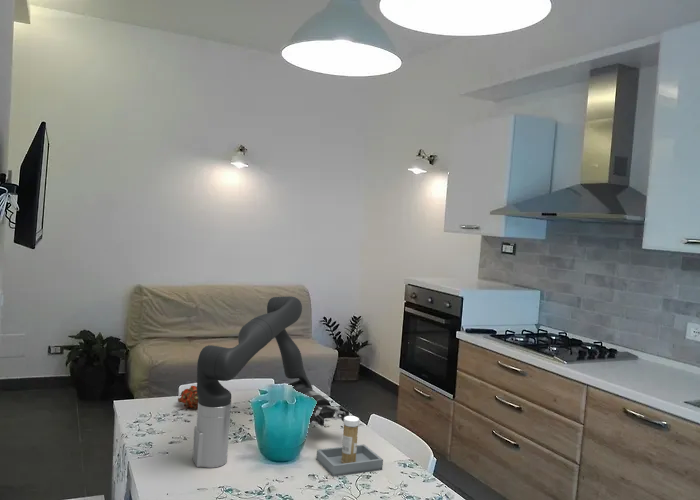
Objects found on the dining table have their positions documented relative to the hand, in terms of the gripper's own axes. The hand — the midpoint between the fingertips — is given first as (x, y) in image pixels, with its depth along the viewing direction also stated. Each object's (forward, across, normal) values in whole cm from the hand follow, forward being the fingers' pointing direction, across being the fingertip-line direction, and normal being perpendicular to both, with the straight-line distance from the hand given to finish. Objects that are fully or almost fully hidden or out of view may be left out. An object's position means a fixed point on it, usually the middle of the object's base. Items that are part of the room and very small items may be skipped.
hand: (335, 421), depth 182 cm
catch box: (+11, 0, +9) cm, 14 cm away
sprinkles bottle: (+11, 0, +9) cm, 14 cm away
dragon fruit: (-50, -34, +9) cm, 61 cm away
